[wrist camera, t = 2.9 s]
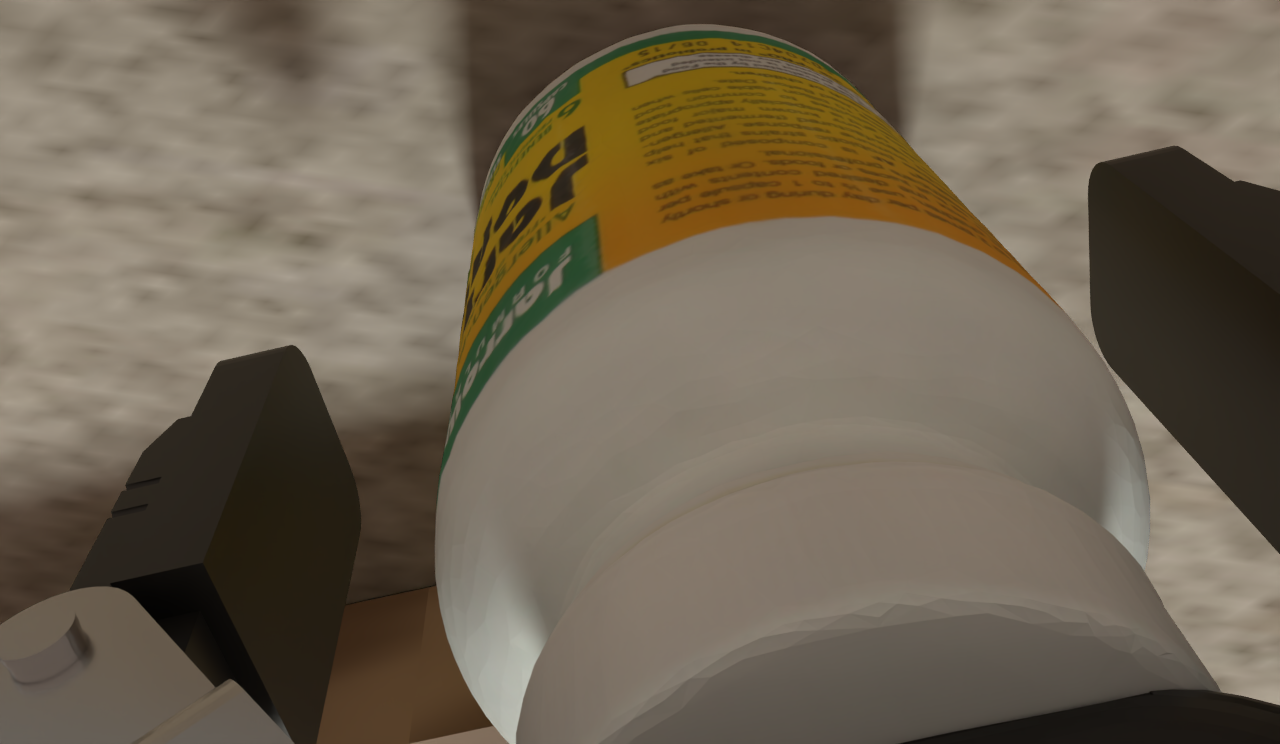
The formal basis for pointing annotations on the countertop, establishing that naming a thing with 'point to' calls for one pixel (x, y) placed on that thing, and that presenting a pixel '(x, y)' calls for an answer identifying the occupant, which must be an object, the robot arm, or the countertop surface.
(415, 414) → the countertop surface
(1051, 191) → the countertop surface
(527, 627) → the supplement bottle
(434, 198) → the countertop surface
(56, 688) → the robot arm
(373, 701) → the socket board
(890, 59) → the countertop surface
